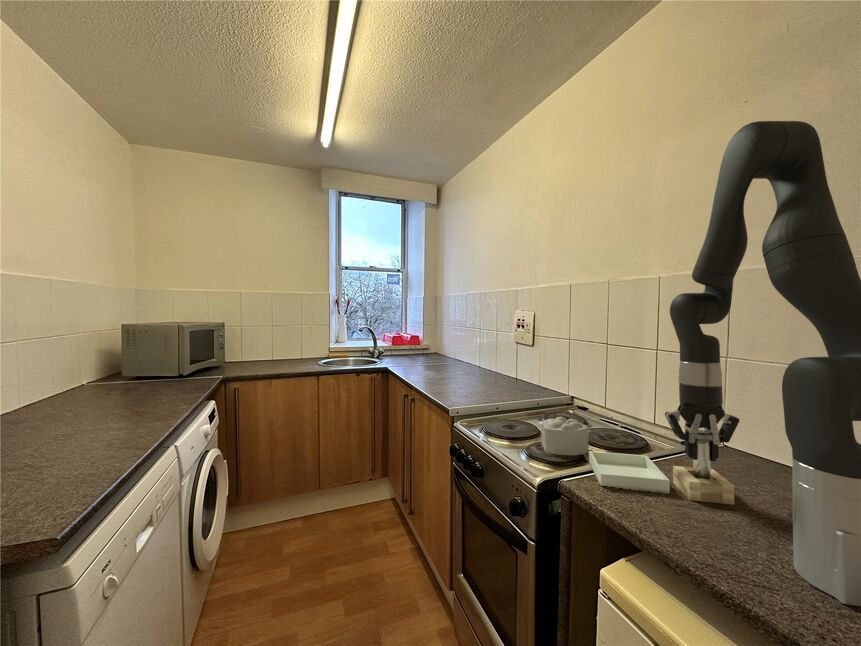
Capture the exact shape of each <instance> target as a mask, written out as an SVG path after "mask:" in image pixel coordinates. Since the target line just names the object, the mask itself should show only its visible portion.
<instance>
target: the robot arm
mask: <svg viewBox="0 0 861 646" xmlns="http://www.w3.org/2000/svg"><path fill="white" fill-rule="evenodd" d="M821 144H822V143H821V139H820V136H819V133H818V132H817V130H816V128H815V127H814V126H813V125H812V124H811V123H808V122H805V121H798V120H765V121H764V120H761V121H760V120H759V121H758V120H756V121H752V122H749V123H747V124H746V125H744V126H742V127H741V128H739V130H738V131H736V132H735V134H733V136H732V137H731V138H730V140H729V141H728V144H727V145H726V148H725V150H724V154H723V156H722V159H721V164H720V167H719V172H718V176H717V182H716V187H715V191H714V196H713V203H712V207H711V214H710V219H709V223H708V228H707V230H706V235H705V238H704V241H703V245H702V247H701V249H700V251H699V255H698V256H697V260H696V261H695V264H694V267H693V270H692V272H691V273H692V274H691V278H692V280H693V281H694V282H696V283H697V284H700V285H702V286H704V291H703V292H684V293H680V294H677V295H676V296H675V297H674V298H673V299H672V301H671V303H670V305H669V316H670V320H671V323H672V326H673V328H674V331H675V334H676V337H677V340H678V342H679V368H678V377H677V378H678V389H679V390H678V391H679V392H678V393H679V394H678V397H679V405H678V407H677V410H674V411H671V412H670V411H665V412H664V416H665V418H666V420H667V422H668V424H669V425H670V429H671V430H672V432H673V434H674V436H676V438H678V439H680V440H682V441H683V442H684V454H685V455H686V456H687V457H688V458H689V459H690V460H692V461H693V460H696V444H695V443H694V442H695V438H694V434H698V430H700V429H703V430H704V431H706V432H708V433H710V434H711V435H714V440H710V462H716V461H717V460H718V459H719V456H720V455H719V453H720V452H719V445H720V444H721V443H727V444H728V443H729V442H730V441H731V439H732V437H733V436H734V432H735V431H736V429H737V427H738V426H739V423H740V422H741V421H740V418H739V417H737V416H736V415H732V414H729V413H726V412H725V410H724V407H723V404H724V402H723V401H724V398H723V396H724V395H723V373H722V372H723V371H722V366H721V348H720V347H721V344H720V341H719V340H720V339H719V338H717V337H716V336H714V335H710V334H705V333H704V332H703V330H702V327H701V326H700V325H713V324H718V323H720V322H721V321H723V320H724V319H725V318H726V317H727V316H728V314H729V313H730V311H731V307H732V301H733V299H732V298H733V290H734V280H735V279H734V278H735V277H736V274H737V272H738V270H739V268H740V266H741V263H742V261H743V260H744V259H743V258H744V257H745V254H746V252H747V247H748V232H747V231H748V229H747V225H746V219H745V210H744V208H745V207H744V206H745V200H746V196H747V192H748V190H749V188H750V186H751V184H752V181H753V180H754V179H757V180H758V179H759V180H761V179H763V180H765V179H766V180H767V181H769V183H770V185H771V187H772V190H773V192H774V196H775V200H776V211H775V213H774V216H773V218H772V220H771V222H770V224H769V226H768V228H767V229H766V233H765V235H764V238H763V242H762V244H761V245H762V247H761V249H762V250H761V253H762V257H763V259H764V264H765V267H766V271H767V275H768V278H769V280H770V283H771V285H772V286H773V288H774V289H775V290H776V291H777V292H778V293H779V294H780V295H781V296H782V297H783V298H784V299H785V300H786V301H787V302H788V303H789V304H790V305H792V306H793V307H794V308H795V309H796V310H797V311H798V312H799V313H801V314H802V315H803V316H804V317H805V318H806V319H807V320H808V321H809V322H810V323H811V324H812V325H813V327H814V328H815V330H816V331H817V332H818V334H819V336H820V338H821V340H822V342H823V345H824V347H825V350H826V353H827V356H809V357H808V356H807V357H801V358H798V359H794V361H792V362H790V364H788V366H787V367H786V369H785V371H784V373H783V376H782V382H781V383H782V384H781V393H782V394H781V395H782V396H781V397H782V406H783V416H784V429H785V433H786V438H787V440H788V442H789V444H790V447H791V452H792V453H791V454H792V455H791V456H792V458H791V459H792V461H791V463H792V465H791V466H792V468H791V469H792V542H793V544H792V545H793V546H792V548H793V567H794V570H795V571H796V573H797V574H798V575H799V576H800V577H801V578H803V580H805V582H807V583H808V584H811V585H812V586H813V587H815V588H817V589H819V590H820V591H823V592H824V593H826V594H828V595H830V596H832V597H834V598H835V599H836V600H837V601H839V602H840V603H841V604H845V605H849V606H855V607H861V443H859V442H858V441H857V439H856V436H855V430H854V423H853V422H861V277H860V274H859V271H858V268H857V263H856V262H855V257H854V254H853V252H852V249H851V247H850V246H851V245H850V243H849V240H848V238H847V235H846V233H845V230H844V229H843V226H842V223H841V221H840V218H839V215H838V213H837V209H836V205H835V202H834V199H833V196H832V193H831V189H830V187H829V183H828V179H827V174H826V168H825V162H824V155H823V150H822V145H821ZM680 417H681V418H682V419H683V420H684V431H683V429H682V426H681V425H680V423H679V421H680ZM720 421H722V424H721V426H720V428H718V424H719V423H720Z"/></svg>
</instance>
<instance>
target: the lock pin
mask: <svg viewBox="0 0 861 646" xmlns="http://www.w3.org/2000/svg"><path fill="white" fill-rule="evenodd" d="M694 438H695V442H694V443H695V444H696V460H692V467H693V476H694V477H695V478H699V479H710V480H711V469H712V468H711V461H710V440H714V435H711V434H710V433H708V432H706V431H705V430H704V429H699V430H698V434H694Z"/></svg>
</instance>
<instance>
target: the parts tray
mask: <svg viewBox="0 0 861 646" xmlns="http://www.w3.org/2000/svg"><path fill="white" fill-rule="evenodd" d="M588 463H589V465H590V467H591V469H592V471H593V474H594V475H595V477H596V479H597V481H598V483H600V484H599V485H601V486H609V487H616V488H615V489H619V488H623V489H622V490H629V489H631V491H639V490H640V492H642V491H643V492H648V491H651V492H650V493H658V492H660V493H661V494H668V495H669V494H670V489H671V488H670V479H669V478H668V477H667V476H666V475H665V474H664V473H663V471H662V470H660V468H658V466H657V465H656V464H655V463H654V462H653V461H652V460H651V459H650V458H649V456H648V455H644V454H643V455H642V454H628V453H618V452H605V451H591V450H588ZM601 486H600V487H601ZM609 487H608V488H609Z"/></svg>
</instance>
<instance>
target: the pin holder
mask: <svg viewBox="0 0 861 646" xmlns="http://www.w3.org/2000/svg"><path fill="white" fill-rule="evenodd" d="M710 469H711V480H710V479H699V478H695V477H694V476H693V466H692V467H691V466H680V465H679V466H678V465H673V466H672V482H673V484H674V485H675V486H676V487H677V488H678V489H679V490H680V491H681V492H682V493H683V495H684V496H685V497H686V496H687V497H686V498H687V499H688V500H689V501H695V502H706V503H714V504H715V503H716V504H723V505H735V485H734V484H733V483H731V482H730V481H729V480H728V479H726V478H725V477H724V476H722V475H721V474H720V473H718V472H717V471H716V470H715V469H713V468H710Z"/></svg>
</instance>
